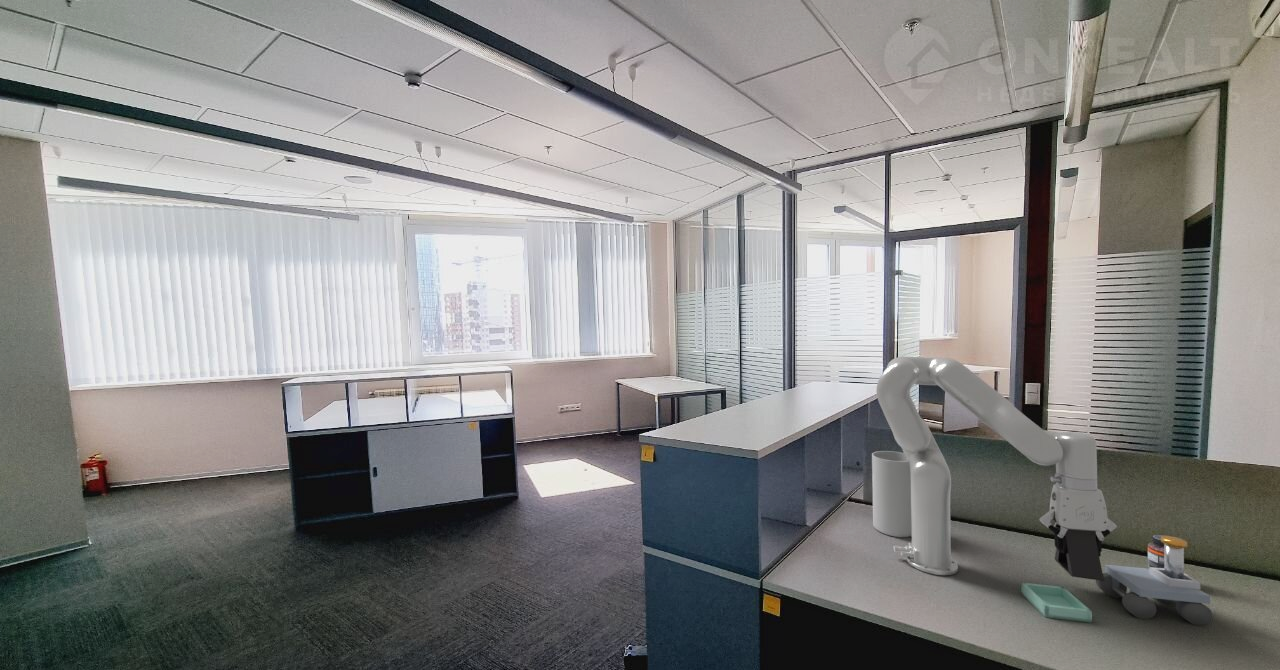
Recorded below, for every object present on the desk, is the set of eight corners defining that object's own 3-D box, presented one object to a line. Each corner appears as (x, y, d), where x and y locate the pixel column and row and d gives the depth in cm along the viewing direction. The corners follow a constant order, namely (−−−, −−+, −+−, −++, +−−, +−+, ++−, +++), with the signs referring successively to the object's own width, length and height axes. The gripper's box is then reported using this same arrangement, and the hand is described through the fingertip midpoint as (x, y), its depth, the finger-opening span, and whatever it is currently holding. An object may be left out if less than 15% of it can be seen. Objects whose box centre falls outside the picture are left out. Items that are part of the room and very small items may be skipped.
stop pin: (1170, 584, 106) (1170, 542, 105) (1156, 575, 109) (1156, 534, 109) (1192, 587, 105) (1192, 544, 104) (1177, 577, 108) (1177, 536, 108)
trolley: (1213, 627, 101) (1212, 589, 101) (1129, 617, 105) (1129, 581, 105) (1170, 598, 112) (1169, 564, 112) (1095, 590, 116) (1095, 557, 115)
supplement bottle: (1173, 577, 121) (1173, 535, 121) (1188, 589, 115) (1188, 545, 115) (1142, 572, 123) (1142, 531, 123) (1156, 583, 118) (1155, 541, 118)
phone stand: (1103, 581, 109) (1103, 532, 109) (1072, 577, 112) (1071, 528, 112) (1083, 563, 118) (1082, 517, 118) (1054, 559, 120) (1053, 514, 120)
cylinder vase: (907, 523, 157) (906, 451, 157) (921, 539, 145) (920, 462, 144) (868, 520, 160) (867, 450, 159) (879, 536, 148) (877, 460, 147)
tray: (1045, 617, 106) (1044, 606, 106) (1021, 592, 116) (1021, 582, 115) (1091, 622, 104) (1091, 611, 103) (1063, 597, 113) (1063, 587, 113)
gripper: (1044, 485, 113) (1046, 556, 113) (1130, 489, 109) (1132, 563, 109) (1027, 475, 120) (1029, 542, 121) (1107, 479, 116) (1108, 548, 116)
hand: (1077, 551), depth 115 cm, fingers closed on phone stand, 6 cm apart
